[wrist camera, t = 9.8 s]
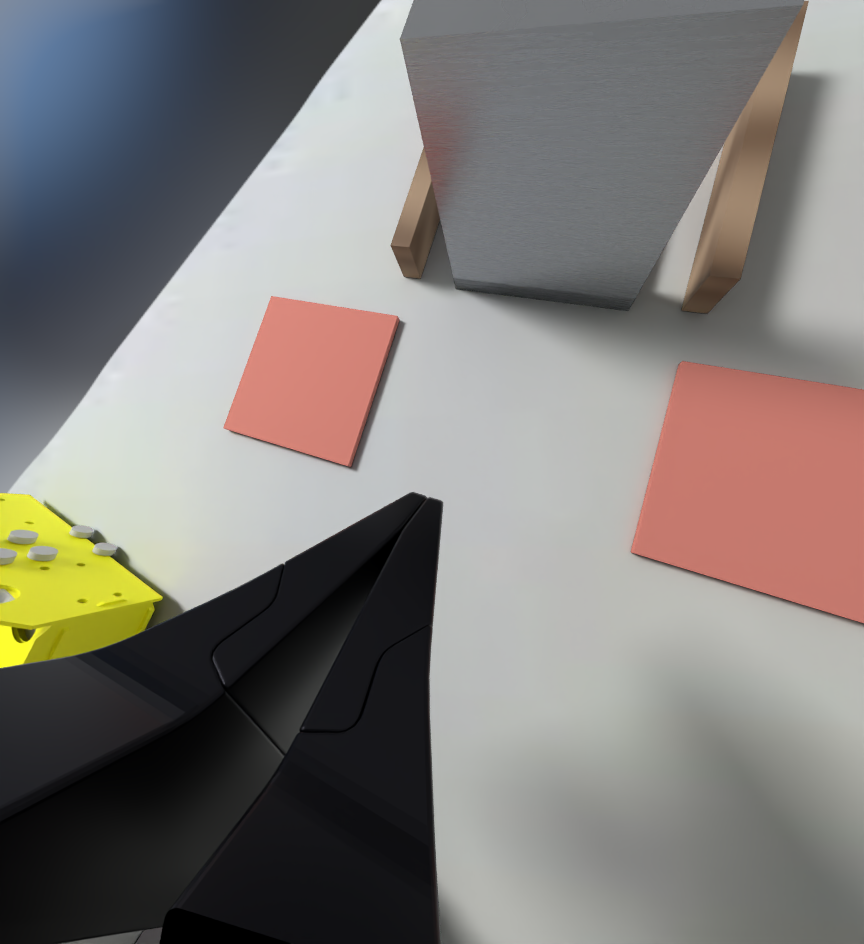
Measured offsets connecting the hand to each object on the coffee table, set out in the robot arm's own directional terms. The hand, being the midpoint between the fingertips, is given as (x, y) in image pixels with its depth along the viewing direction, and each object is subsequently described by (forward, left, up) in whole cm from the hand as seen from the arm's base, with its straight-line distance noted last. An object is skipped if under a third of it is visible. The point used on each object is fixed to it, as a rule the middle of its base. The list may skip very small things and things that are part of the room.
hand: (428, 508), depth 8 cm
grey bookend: (+18, -7, -10) cm, 22 cm away
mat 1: (+10, +10, -10) cm, 18 cm away
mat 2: (+1, -14, -10) cm, 18 cm away
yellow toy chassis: (-3, +29, -11) cm, 31 cm away
